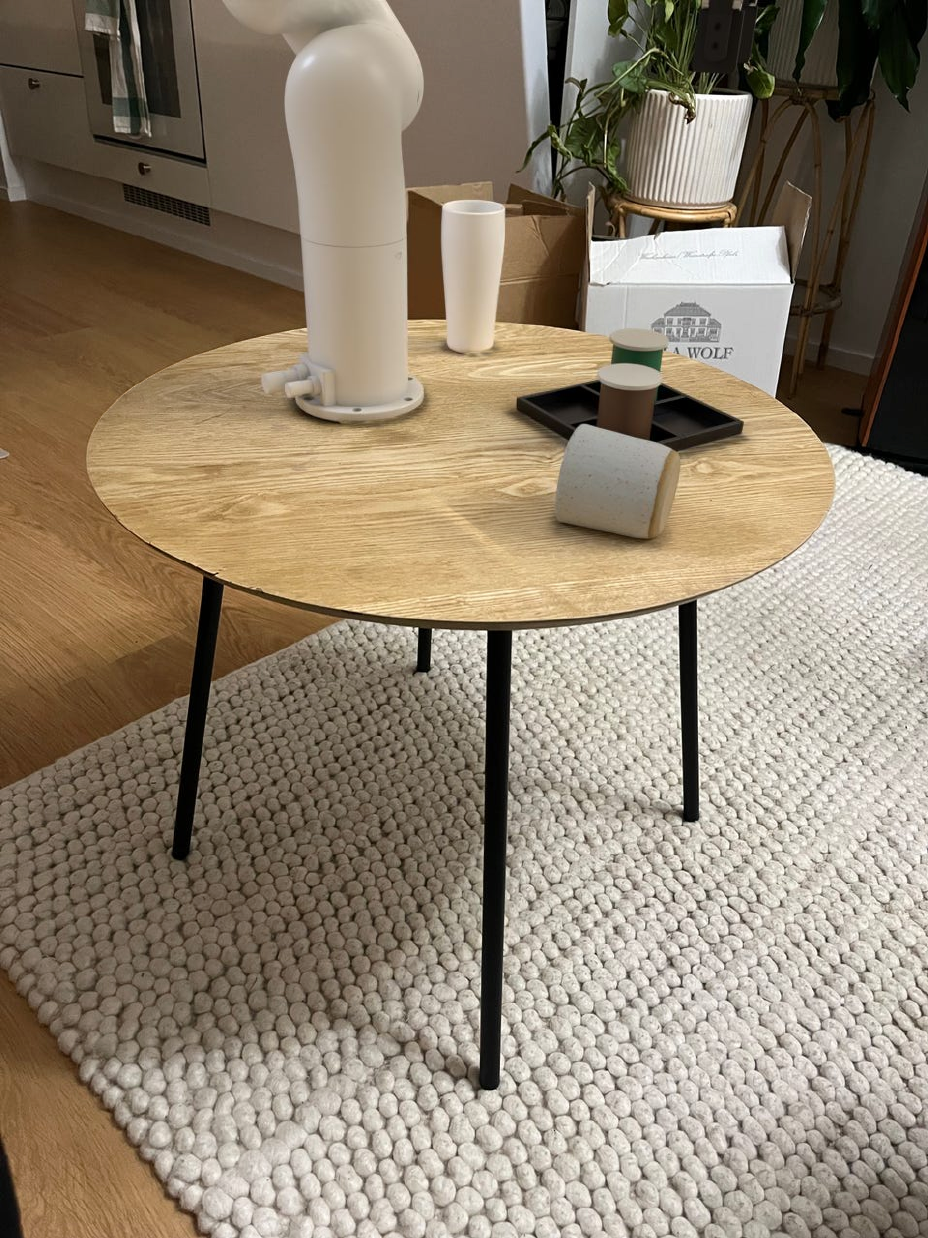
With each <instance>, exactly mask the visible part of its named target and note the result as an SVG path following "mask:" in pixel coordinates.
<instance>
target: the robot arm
mask: <svg viewBox="0 0 928 1238" xmlns="http://www.w3.org/2000/svg"><path fill="white" fill-rule="evenodd" d="M221 1H222V3H223V4H224V6H225V7H226V9H227V10H228V11H229V13H230V15H232V16H233V17H234V18H235V19H236V20H237V21H238V22H239V23H240V24H241V25H242V26H243V27H245V28H248V29H250V30H252V31H253V32H255V33H259V34H265V35H271V36H272V35H281V36H283V39H284V40H285V42H286V43H287V45H288V46H289V47H290V49H291V50H292V52H293V53H294V55H295V58H294V59H293V61H292V63H291V66H290V68H289V71H288V73H287V78H286V82H285V90H284V115H285V116H284V117H285V124H286V130H287V136H288V141H289V147H290V152H291V157H292V162H293V170H294V176H295V185H296V195H297V206H298V220H299V233H300V234H299V235H300V245H301V258H302V261H301V262H302V275H303V289H304V290H303V291H304V292H303V293H304V306H305V320H306V336H307V337H306V338H307V352H304V353H299V354H298V363H297V364H293V365H292V366H291V368H290V369H288V370H275V371H270V372H264V373H262V374H261V376H260V383H261V387H262V390H263V392H264V393H265V395H269V394H270V395H271V394H275V393H280V392H285V395H286V397H287V398H288V399H291V398H295V403H296V405H297V406H298V408H300V409H301V410H302V411H303V412H305V413H306V414H308V415H310V416H313V417H316V418H319V419H322V420H327V421H331V422H338V423H339V422H340V421H351V422H352V421H354V422H355V421H356V422H364V421H378V420H384V419H385V420H386V419H390V418H394V417H399V416H402V415H404V414H408V413H409V412H412V411H413V410H415V409H416V408H418V407H419V406H420V405H421V404H422V403H423V401H424V398H425V389H424V386H423V384H422V382H420V381H419V380H418V379H417V378H416V377H414V376H412V375H411V374H409V363H408V362H409V354H408V353H409V347H408V345H409V344H408V343H409V342H408V340H409V339H408V337H409V335H408V333H409V331H408V329H409V328H408V324H409V323H408V239H407V238H408V234H407V196H406V181H405V180H406V177H405V169H404V160H403V145H402V143H403V142H402V138H403V137H402V132H404V131H405V130H406V129H407V128H408V127H409V126H410V125H411V123H412V122H413V121H414V120H415V118H416V116H417V114H418V113H419V110H420V108H421V105H422V101H423V96H424V89H425V82H424V81H425V80H424V71H423V68H422V67H423V66H422V63H421V60H420V58H419V55H418V53H417V50H416V49H415V47H414V45H413V43H412V41H411V40H410V38H409V36H408V34H407V33H406V31H405V29H404V27H403V26H402V24H401V23H400V21H399V19H398V18H397V16H396V15H395V13H394V12H393V10H392V8H391V6H390V5H389V3H388V1H387V0H221ZM757 4H758V0H701V9H699V11H698V18H697V25H696V31H695V33H696V34H695V41H694V48H693V55H692V56H693V57H692V62H691V63H692V64H691V69H692V71H693V72H694V73H702V74H721V75H731V74H733V73H735V71H736V70H737V66H738V64H747V63H748V62H750V60H751V56H752V55H751V54H752V49H753V43H754V38H755V37H754V35H755V29H756V24H757V18H758V17H757V16H758V12H759V6H758V5H757Z"/></svg>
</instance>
